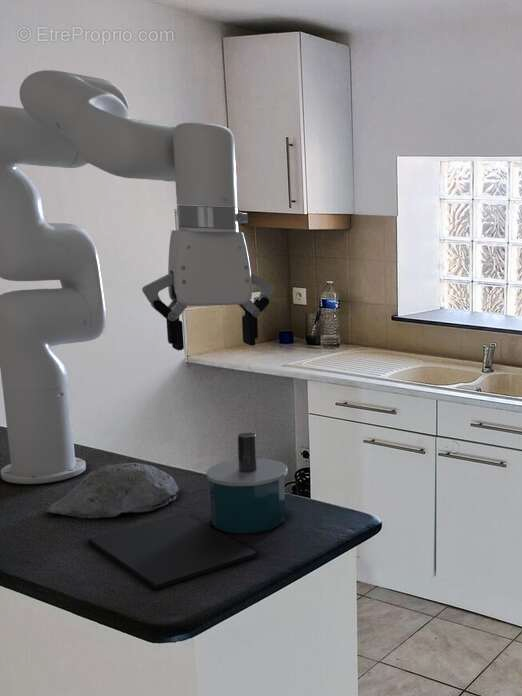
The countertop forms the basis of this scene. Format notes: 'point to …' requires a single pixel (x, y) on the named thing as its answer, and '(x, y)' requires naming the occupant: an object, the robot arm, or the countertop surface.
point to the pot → (248, 507)
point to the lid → (247, 466)
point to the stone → (118, 492)
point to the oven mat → (172, 550)
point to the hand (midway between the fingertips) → (214, 346)
